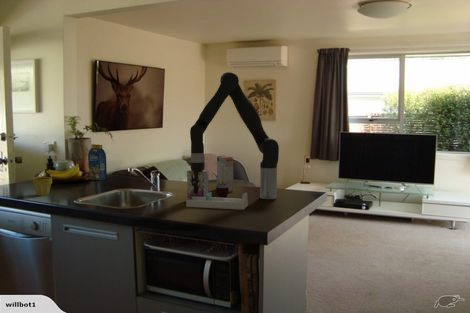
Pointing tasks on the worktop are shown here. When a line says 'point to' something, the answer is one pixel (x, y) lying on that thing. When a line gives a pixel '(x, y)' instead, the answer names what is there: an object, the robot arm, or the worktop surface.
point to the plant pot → (42, 185)
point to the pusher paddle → (210, 198)
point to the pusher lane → (219, 203)
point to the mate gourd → (221, 189)
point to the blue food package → (97, 163)
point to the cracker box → (225, 171)
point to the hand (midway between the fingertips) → (197, 191)
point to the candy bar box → (201, 184)
